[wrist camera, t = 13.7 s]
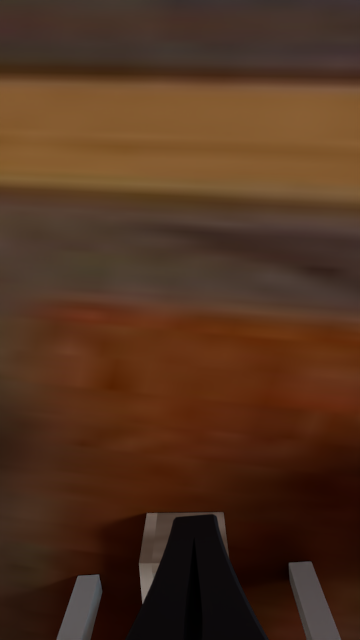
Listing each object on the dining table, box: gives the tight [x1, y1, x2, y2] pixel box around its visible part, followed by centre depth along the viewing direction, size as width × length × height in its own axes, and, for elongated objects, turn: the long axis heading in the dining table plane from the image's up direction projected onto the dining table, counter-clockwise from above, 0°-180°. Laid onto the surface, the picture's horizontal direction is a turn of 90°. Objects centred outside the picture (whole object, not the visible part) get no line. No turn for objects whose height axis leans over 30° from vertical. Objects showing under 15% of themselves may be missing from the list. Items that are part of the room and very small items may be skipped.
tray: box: [139, 512, 229, 604], centre depth 21 cm, size 12×5×4 cm, turn 3°
